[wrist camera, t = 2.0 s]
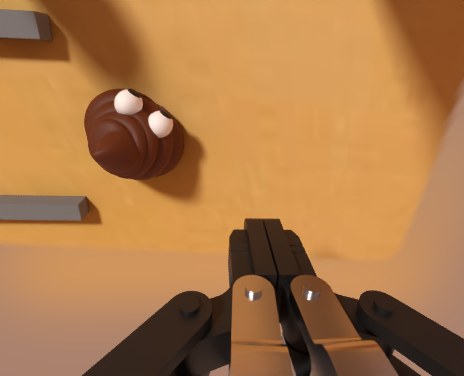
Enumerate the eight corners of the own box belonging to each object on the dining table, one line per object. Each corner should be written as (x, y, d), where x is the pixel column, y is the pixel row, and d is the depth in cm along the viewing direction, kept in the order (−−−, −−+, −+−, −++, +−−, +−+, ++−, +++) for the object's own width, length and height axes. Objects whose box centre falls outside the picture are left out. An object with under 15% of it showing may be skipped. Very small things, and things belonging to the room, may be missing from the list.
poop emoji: (77, 136, 29) (20, 169, 20) (114, 65, 26) (65, 68, 18) (161, 185, 32) (141, 231, 23) (202, 125, 29) (195, 153, 21)
